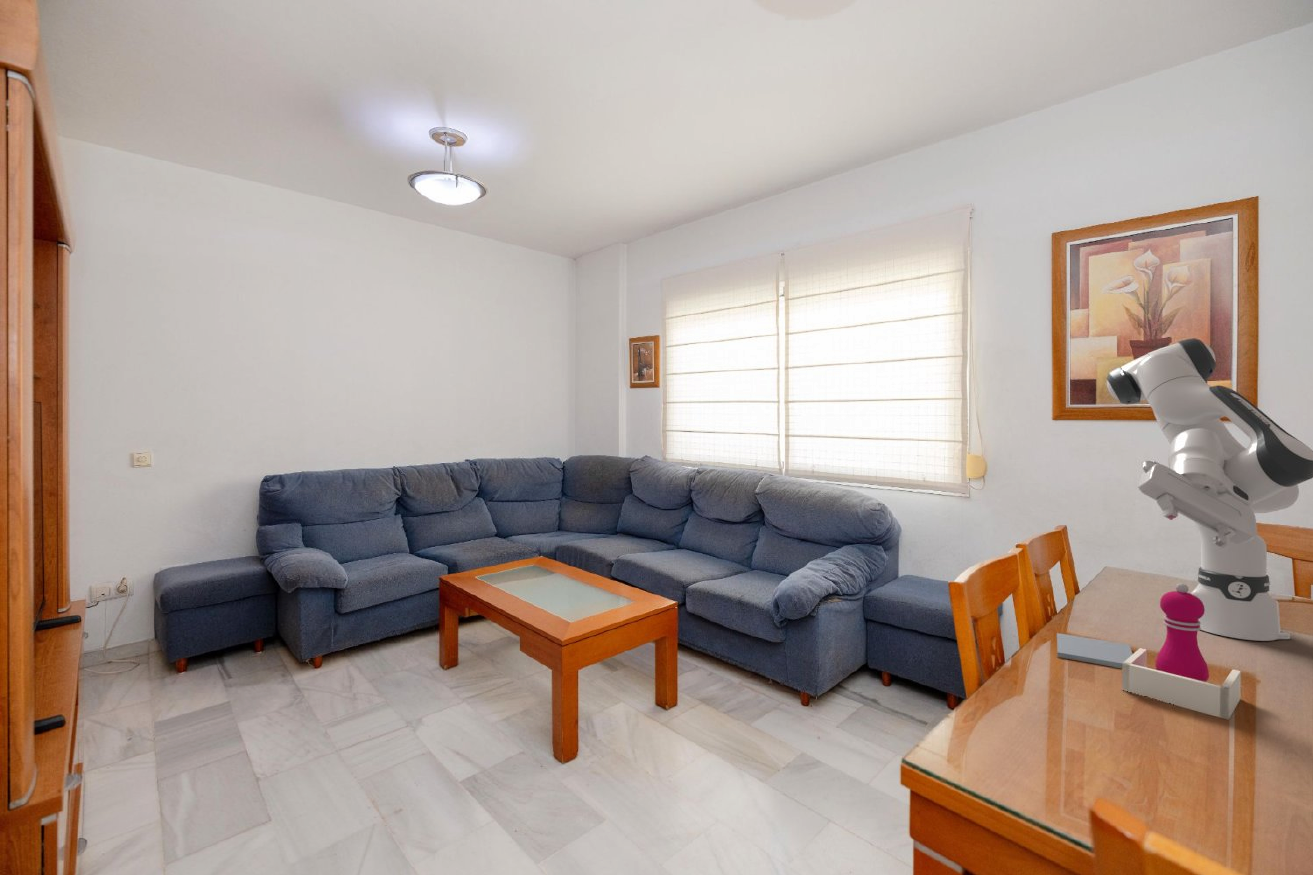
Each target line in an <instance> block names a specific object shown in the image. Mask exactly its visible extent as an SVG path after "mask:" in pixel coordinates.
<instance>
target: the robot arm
mask: <svg viewBox="0 0 1313 875" xmlns="http://www.w3.org/2000/svg"><path fill="white" fill-rule="evenodd" d="M1216 363H1217V362H1216V355H1215V352H1214V350H1213V349H1212V348H1211V347H1210V346H1209V345H1208V344H1206V343H1205V342H1203V341H1202V340H1201V339H1198V338H1195V337H1192V338H1187V339H1182V340H1179V341H1177V342H1176V343H1174V344H1170V345H1167V346H1165V347H1160V348H1158V349H1156V350H1153V351H1150V352H1147V353H1146V354H1144V355H1142V356H1140V357H1138V358H1135V359H1133V360H1131V361H1129V362H1127V363H1126V364H1124V365H1122V366H1117V367H1115V368H1114V369H1112V370H1111V371H1110V372H1108V374H1107V376H1106V378H1105V379H1106V387H1107V390H1108V392H1109V394H1110V395H1111V397H1113V398H1114V399H1115V400H1116V401H1117V402H1119V403H1120V404H1122V405H1133V404H1138V403H1141V401H1147V403H1148V404H1149V406H1150V408H1151V409H1152V412H1153V415H1154V418H1155V419H1156V422H1157V424H1158V425H1159V428H1160V430H1161V431H1162V433H1163V435H1164V437H1165V438H1166V439H1167V441H1168V443H1169V444H1170V446H1169V448H1168V449H1169V450H1168V456H1167V463H1168V466H1166V465H1164V464H1162V463H1159V462H1158V461H1156V460H1155V461H1154V460H1152V461H1150V460H1144V462H1143V463H1142V470H1143V472H1142V474H1141V476H1140V478H1139V480H1138V485H1137V488H1138V490H1139V491H1140V492H1141V493H1142V494H1144V495H1145V496H1147V497H1149V498H1150V499H1152V500H1155V501H1156V503H1157V505H1158V506H1159V508H1160V509H1161V511H1162V516H1163V517H1165V518H1166V519H1168V520H1170V521H1173V520H1174V519H1176V518H1177V517H1178V516H1179V514H1180V515H1182V516H1184V517H1185V518H1187V519H1189V520H1191V521H1192V522H1194V524H1195V525H1196V526H1195V527H1196V529H1197V531H1198V535H1199V541H1200V543H1199V544H1200V567H1199V568H1198V572H1197V582H1198V584H1197V586H1196V587H1195V588H1194V589H1193V591H1191V594H1193V595H1195V596H1196V597H1198V598H1199V599H1200V600H1201V601H1202V602H1203V605H1204V609H1205V611H1204V615H1203V616H1202V617H1201V618H1199V619H1198V621H1200V623H1201V624H1200V628H1201V629H1200V630H1201V631H1203V632H1207V633H1210V634H1214V635H1220V636H1223V637H1229V638H1233V639H1239V640H1247V641H1256V642H1257V641H1262V642H1267V641H1268V642H1269V641H1275V640H1290V639H1291V634H1290V633H1288V632H1286V631H1284V630H1282V629H1281V623H1280V621H1281V620H1280V607H1279V606H1280V605H1279V601H1278V600H1277V599H1275V598H1274V597H1272V596H1271V594H1269V592H1270V585H1271V581H1270V576H1269V575H1268V574H1267V571H1268V570H1267V567H1268V566H1267V565H1268V564H1267V560H1268V559H1267V551H1268V550H1267V548H1268V547H1267V543H1266V541H1265V540H1264V538H1263V537H1262V536H1260V535H1258V525H1257V519H1256V514H1268V513H1272V512H1277V511H1281V510H1285V509H1288V508H1291V507H1292V506H1293V505H1294V504H1295V503H1296V501H1297V500H1298V499H1299V498H1298V497H1299V494H1300V492H1299V491H1300V490H1299V484H1302V483H1304V482H1306V481H1309V480H1312V479H1313V450H1312V449H1311V447H1309V446H1308V445H1306V444H1305V443H1304V442H1302V441H1300V440H1299V439H1298V438H1296V437H1295V436H1293V435H1292V434H1290V433H1289V432H1288V431H1286V430H1285V429H1283V427H1281V426H1280V425H1279V424H1278V423H1276V422H1275V421H1274V420H1273V419H1271V417H1269V415H1267V414H1265V413H1264V412H1263V411H1262V410H1261V409H1259V407H1257V406H1256V405H1255V404H1253V403H1252V402H1251V401H1249V399H1247V398H1246V397H1245V396H1243V395H1241V393H1239V392H1238V391H1236V390H1234V389H1232V388H1230V387H1227V386H1224V385H1213V386H1212V385H1210V384H1208V381H1207V380H1208V379H1209V378H1210V377H1212V376H1213V374H1214V372H1215V370H1216V367H1217V364H1216ZM1222 418H1227V419H1228V420H1230V422H1232V423H1233V424H1234V425H1235V426H1236V427H1238V429H1239V430H1240V431H1241V432H1242V433H1244V434H1245V435H1246V436H1247V437H1249V439H1250V444H1248V446H1247V448H1246V447H1245V446H1243V445H1242V444H1241V443H1240V442H1239V441H1238V440H1237V439H1236V438H1235V437H1234V436H1233V435H1232V434H1231V432H1230V431H1229V429H1228V428H1227V427H1226V425H1225V424H1224V422H1223V421H1222V420H1221V419H1222ZM1200 630H1199V631H1200Z"/></svg>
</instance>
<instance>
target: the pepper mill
mask: <svg viewBox="0 0 1313 875" xmlns="http://www.w3.org/2000/svg"><path fill="white" fill-rule="evenodd" d="M1174 589H1175V590H1173V591H1169V592H1166V593H1164V594H1163V595H1162V596H1161V598H1160V601H1159V607H1160V609H1161V611H1162V612H1163V613H1164V614H1165V615H1164V616H1163V619H1164V620H1163V624H1164V625H1165V626H1166V638H1165V641H1164V643H1163V646H1162V647H1161V649H1160V650H1159V651H1158V653H1157V656H1156V659H1155V670H1159V671H1163V672H1167V673H1171V674H1175V675H1179V676H1183V677H1187V678H1191V679H1195V680H1199V681H1203V682H1208V680H1209V678H1210V671H1209V667H1208V663H1207V662H1206V660H1205V658H1204V657H1203V655H1202V652H1201V650H1200V646H1199V644H1198V631H1200V629H1201V628H1200V624H1201V623H1200V621H1198V619H1199V618H1201V617H1202V616H1203V615H1204V611H1205V609H1204V605H1203V602H1202V601H1201V600H1200V599H1199V598H1198V597H1196V596H1195V595H1193V594H1192V593H1191V592H1189V591H1190V590H1189V586H1188V585H1187V584H1185V583H1181V582H1180V583H1177V584H1175V588H1174Z"/></svg>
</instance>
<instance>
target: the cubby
mask: <svg viewBox="0 0 1313 875" xmlns="http://www.w3.org/2000/svg"><path fill="white" fill-rule="evenodd" d="M1147 652H1148V651H1147V649H1146V648H1141V647H1139V648H1138V649H1137V650H1136V651H1135V652H1134V653H1133V655H1131V656H1130V657H1129V658H1128V659H1127V660H1126V661H1124V662H1123V663H1122V668H1121V671H1122V672H1121V675H1122V677H1121V678H1122V680H1121V690H1122V691H1123V690H1124V691H1123V692H1127V691H1128V692H1127V693H1130V692H1132V693H1131V694H1134V693H1136V694H1135V695H1137V694H1139V695H1138V696H1141V695H1142V697H1144V696H1148V697H1151V698H1150V699H1152V698H1155V699H1157V700H1156V701H1159V700H1160V701H1159V702H1162V701H1163V702H1162V703H1166V704H1169V703H1171V704H1170V705H1173V704H1174V706H1177V707H1180V708H1184V709H1188V710H1192V711H1194V712H1195V711H1196V712H1199V713H1202V714H1205V715H1209V716H1213V717H1216V718H1219V719H1224V720H1227V721H1228V720H1230V718H1231V716H1232V714H1233V713H1234V711H1235V709H1236V708H1237V706H1238V704H1239V702H1240V701H1241V699H1242V698H1241V690H1242V689H1241V687H1242V686H1241V685H1242V684H1241V681H1242V680H1241V677H1242V676H1241V674H1242V673H1241V670H1238V669H1232V670H1231V671H1230V672H1229V674H1228V675H1227V677H1226V678H1225V680H1224V681H1223V682H1222V684H1221V685H1220V684H1216V683H1215V684H1214V683H1211V682H1208V681H1206V682H1203V681H1199V680H1195V679H1191V678H1187V677H1183V676H1179V675H1175V674H1171V673H1167V672H1163V671H1159V670H1157V669H1156V668H1155V669H1154V668H1149V667H1148V666H1147V665H1148V664H1147V663H1148V660H1147V657H1148V656H1147V654H1148V653H1147ZM1148 697H1147V698H1148ZM1155 699H1154V700H1155Z"/></svg>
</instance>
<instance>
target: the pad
mask: <svg viewBox="0 0 1313 875" xmlns="http://www.w3.org/2000/svg"><path fill="white" fill-rule="evenodd" d="M1056 651H1057V654H1056V655H1057V658H1061V659H1068V660H1073V661H1079V662H1083V663H1084V662H1085V663H1089V664H1095V665H1102V666H1106V667H1112V668H1116V669H1117V668H1119V669H1122V663H1123V662H1124V661H1126V660H1127V659H1128V658H1129V657H1130V656H1131V655H1133V654H1134V653H1133V652H1132V649H1131V646H1130V643H1129V644H1128V643H1121V642H1115V641H1109V640H1102V639H1095V638H1090V637H1084V636H1077V635H1071V634H1064V633H1056Z"/></svg>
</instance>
